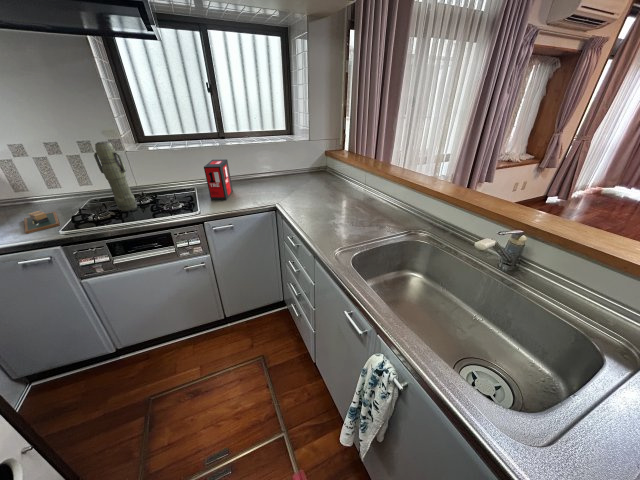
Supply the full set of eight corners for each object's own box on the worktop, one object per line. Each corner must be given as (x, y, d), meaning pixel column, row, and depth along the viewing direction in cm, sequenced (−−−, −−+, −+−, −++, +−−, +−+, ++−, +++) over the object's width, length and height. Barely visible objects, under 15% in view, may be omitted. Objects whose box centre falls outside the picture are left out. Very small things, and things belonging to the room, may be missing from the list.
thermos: (137, 210, 146) (112, 143, 128) (113, 212, 144) (84, 144, 126) (142, 204, 153) (119, 140, 136) (119, 206, 151) (93, 141, 133)
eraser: (33, 221, 132) (28, 213, 130) (43, 218, 135) (38, 210, 133) (39, 223, 129) (34, 216, 127) (49, 220, 132) (44, 212, 130)
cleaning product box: (226, 200, 158) (219, 166, 148) (211, 200, 157) (203, 166, 147) (232, 190, 172) (227, 159, 162) (218, 191, 172) (212, 159, 162)
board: (25, 220, 135) (23, 218, 135) (56, 213, 143) (55, 211, 142) (26, 233, 123) (24, 231, 122) (60, 225, 130) (58, 223, 130)
